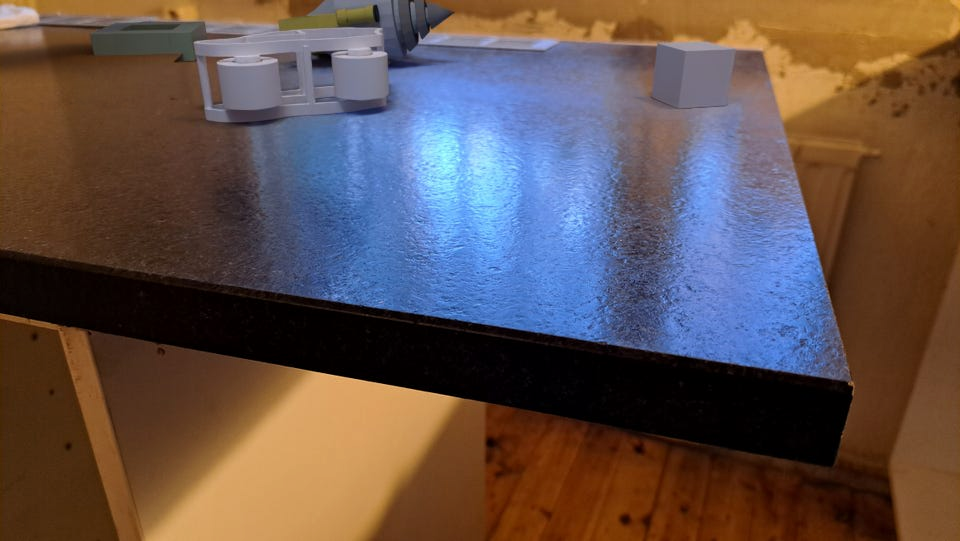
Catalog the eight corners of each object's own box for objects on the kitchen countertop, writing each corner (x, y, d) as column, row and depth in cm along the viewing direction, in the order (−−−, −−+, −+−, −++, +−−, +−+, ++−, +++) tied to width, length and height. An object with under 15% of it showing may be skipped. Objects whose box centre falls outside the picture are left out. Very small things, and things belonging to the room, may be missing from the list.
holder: (96, 63, 99) (89, 33, 97) (120, 49, 110) (115, 22, 109) (195, 61, 101) (190, 32, 99) (208, 47, 113) (204, 21, 111)
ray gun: (308, 10, 109) (259, -19, 90) (459, -11, 107) (443, -46, 87) (319, 84, 111) (273, 71, 92) (468, 64, 109) (454, 47, 89)
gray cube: (651, 97, 81) (657, 43, 78) (697, 94, 82) (704, 41, 80) (678, 108, 76) (685, 50, 73) (727, 105, 77) (736, 48, 75)
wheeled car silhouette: (212, 131, 66) (199, 50, 63) (199, 107, 75) (187, 34, 72) (412, 111, 74) (410, 38, 71) (379, 91, 83) (376, 25, 80)
